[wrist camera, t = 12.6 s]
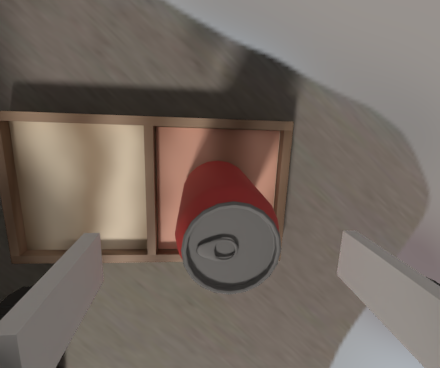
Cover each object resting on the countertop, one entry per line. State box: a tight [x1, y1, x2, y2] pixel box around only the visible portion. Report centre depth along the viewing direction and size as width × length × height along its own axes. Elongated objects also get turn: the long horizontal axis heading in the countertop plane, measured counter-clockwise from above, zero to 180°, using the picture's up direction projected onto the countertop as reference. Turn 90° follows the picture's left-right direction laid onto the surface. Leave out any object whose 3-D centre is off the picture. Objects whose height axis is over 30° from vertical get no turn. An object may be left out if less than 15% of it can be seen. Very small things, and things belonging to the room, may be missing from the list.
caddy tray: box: [0, 111, 294, 264], centre depth 26 cm, size 26×14×3 cm, turn 88°
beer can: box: [175, 161, 281, 294], centre depth 20 cm, size 7×7×12 cm
